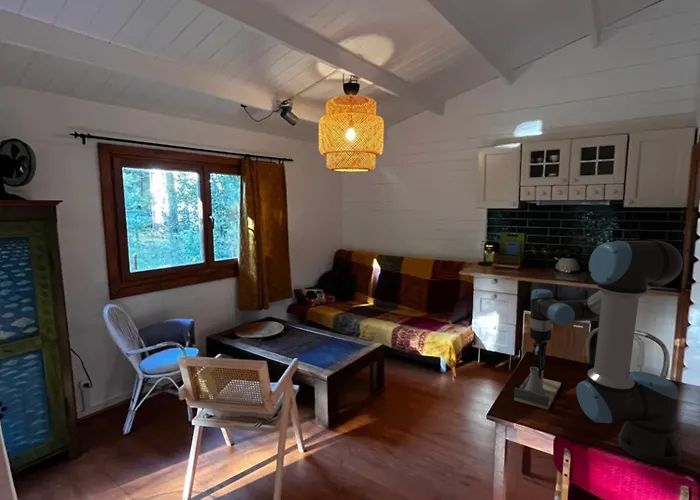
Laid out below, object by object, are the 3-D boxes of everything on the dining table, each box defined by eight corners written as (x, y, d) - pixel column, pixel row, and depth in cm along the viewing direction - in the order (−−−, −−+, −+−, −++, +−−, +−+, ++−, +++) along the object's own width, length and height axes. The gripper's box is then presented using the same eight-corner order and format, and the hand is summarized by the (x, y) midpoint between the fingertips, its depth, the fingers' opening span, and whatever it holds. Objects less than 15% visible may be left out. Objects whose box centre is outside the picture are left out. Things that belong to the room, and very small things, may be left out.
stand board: (548, 409, 144) (548, 397, 143) (514, 400, 151) (514, 388, 151) (560, 385, 163) (561, 374, 162) (530, 378, 170) (530, 367, 170)
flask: (543, 386, 156) (543, 364, 154) (546, 397, 150) (545, 374, 147) (523, 385, 159) (523, 363, 156) (525, 396, 152) (524, 373, 150)
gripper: (547, 334, 147) (545, 394, 150) (554, 325, 157) (552, 382, 160) (526, 331, 151) (524, 389, 154) (534, 322, 162) (532, 377, 164)
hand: (538, 385), depth 157 cm, fingers closed
